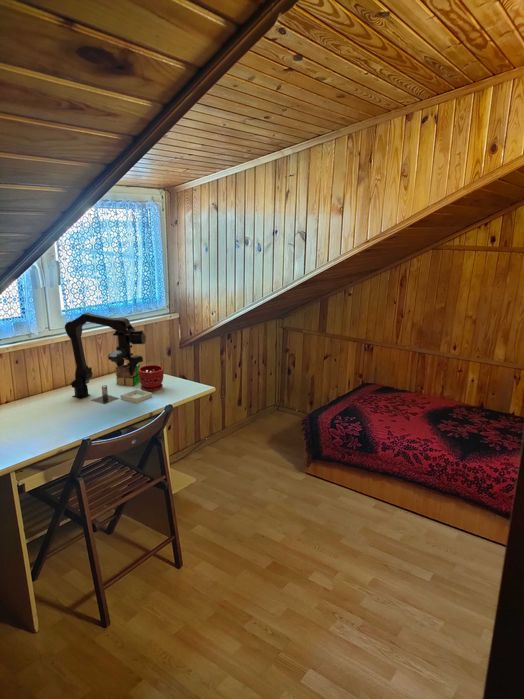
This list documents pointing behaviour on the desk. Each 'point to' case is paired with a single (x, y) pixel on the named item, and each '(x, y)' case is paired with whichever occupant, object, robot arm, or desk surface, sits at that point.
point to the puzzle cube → (129, 379)
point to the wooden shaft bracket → (124, 371)
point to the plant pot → (151, 377)
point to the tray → (136, 396)
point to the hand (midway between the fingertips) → (126, 374)
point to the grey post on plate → (105, 396)
